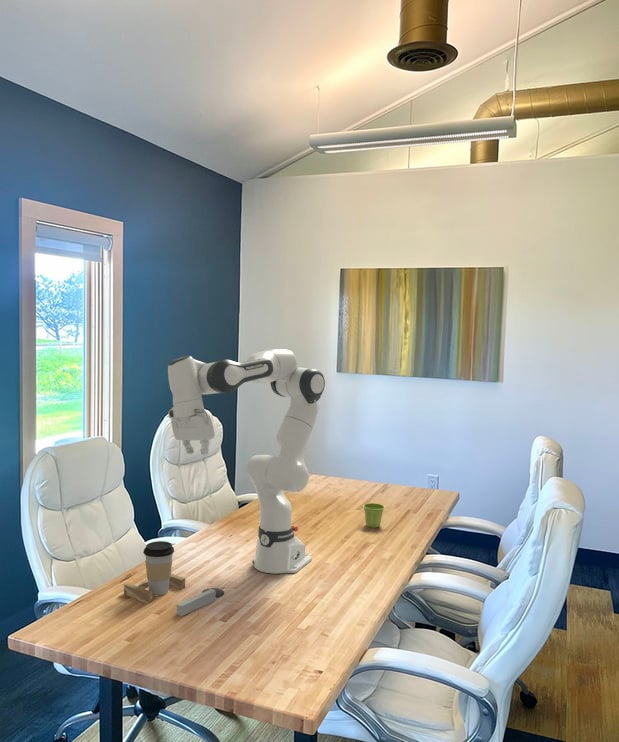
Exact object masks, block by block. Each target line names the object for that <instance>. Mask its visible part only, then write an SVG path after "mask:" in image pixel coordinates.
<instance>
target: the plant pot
mask: <svg viewBox="0 0 619 742" xmlns="http://www.w3.org/2000/svg"><path fill="white" fill-rule="evenodd" d="M362 506H363V507H362V508H363V509H364V515H365V516H364V517H365V525H366V526H367V527H369V528H380V526H381V522H382V516H383V512H384V510H385V508H386V507H385V505H383V504H381V503H375V502H367V503H364V504H363V505H362Z"/></svg>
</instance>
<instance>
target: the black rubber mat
mask: <svg viewBox="0 0 619 742" xmlns="http://www.w3.org/2000/svg"><path fill="white" fill-rule="evenodd" d="M210 589H213V590H216V598H220V597H222V596H224V594H225V591H224V590H223V589H221V588H218V587H217V588H216V587H215V588H214V587H213V588H212V587H211V588H206V589H204V590H202V592H201V593H203V592H205V591H207V590H210Z"/></svg>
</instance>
